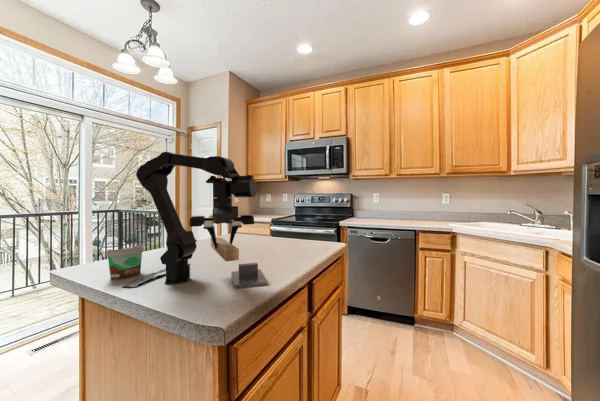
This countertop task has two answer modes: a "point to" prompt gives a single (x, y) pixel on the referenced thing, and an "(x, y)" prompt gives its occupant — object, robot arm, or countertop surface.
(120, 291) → the countertop surface
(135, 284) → the driftwood
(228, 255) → the oak rod
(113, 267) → the food container
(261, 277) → the ridge stand
